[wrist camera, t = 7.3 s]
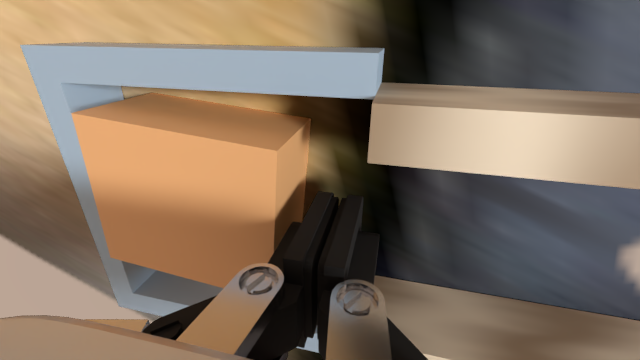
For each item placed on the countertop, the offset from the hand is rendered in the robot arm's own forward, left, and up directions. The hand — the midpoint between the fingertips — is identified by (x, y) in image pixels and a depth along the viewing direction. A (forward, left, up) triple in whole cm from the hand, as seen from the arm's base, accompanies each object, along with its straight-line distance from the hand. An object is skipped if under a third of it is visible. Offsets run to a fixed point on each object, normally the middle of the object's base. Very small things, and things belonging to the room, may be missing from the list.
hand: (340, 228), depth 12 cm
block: (+5, -1, -2) cm, 6 cm away
